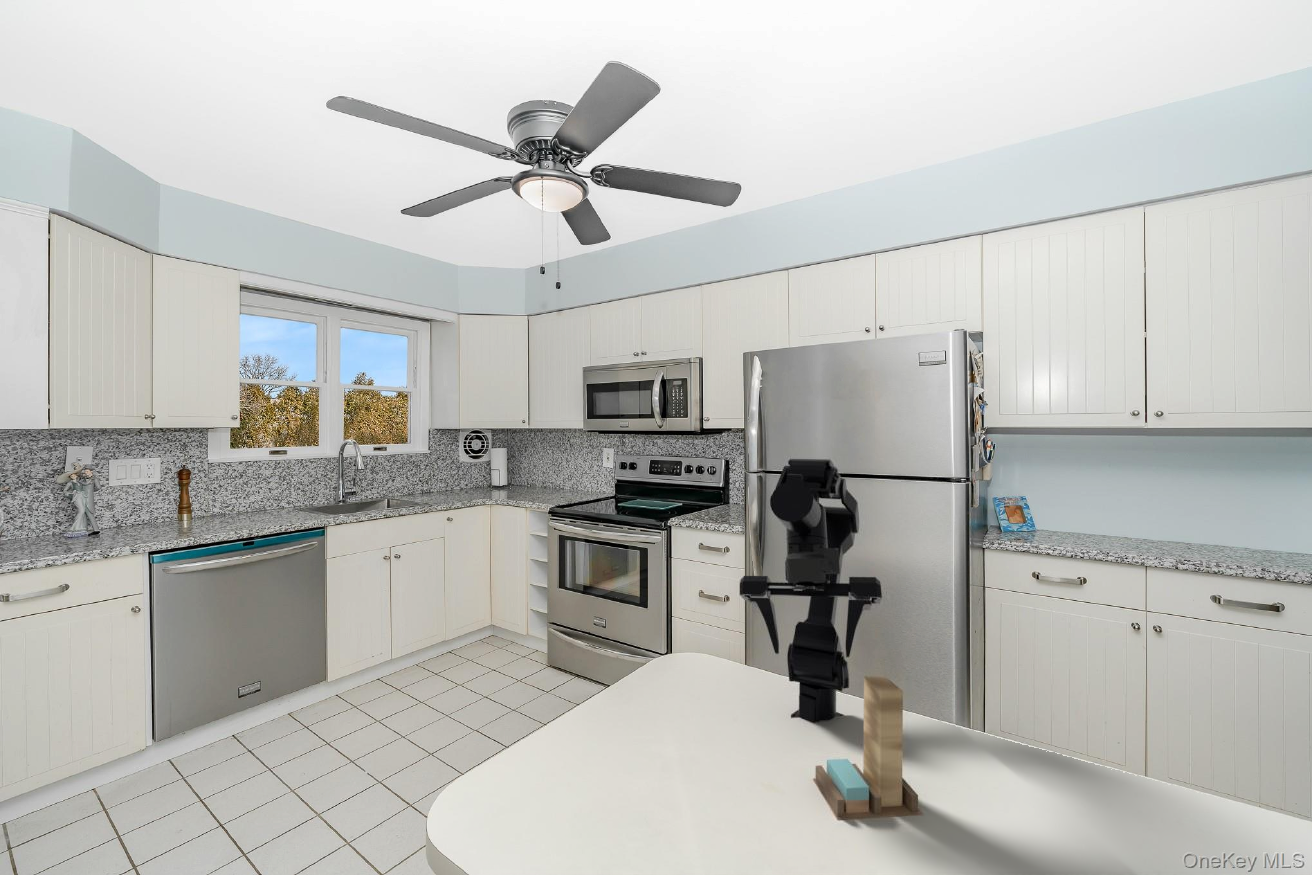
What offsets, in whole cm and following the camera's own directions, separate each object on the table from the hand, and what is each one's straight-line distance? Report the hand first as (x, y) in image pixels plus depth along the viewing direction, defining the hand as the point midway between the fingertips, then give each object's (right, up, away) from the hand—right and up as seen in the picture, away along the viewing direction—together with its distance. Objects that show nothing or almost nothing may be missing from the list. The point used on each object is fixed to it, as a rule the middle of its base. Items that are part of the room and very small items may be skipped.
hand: (811, 655), depth 77 cm
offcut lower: (+3, -16, -5) cm, 17 cm away
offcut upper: (+3, -14, -5) cm, 15 cm away
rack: (+5, -17, -5) cm, 18 cm away
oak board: (+8, -16, -5) cm, 18 cm away
